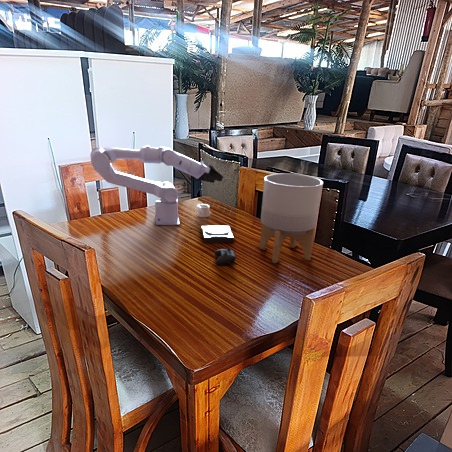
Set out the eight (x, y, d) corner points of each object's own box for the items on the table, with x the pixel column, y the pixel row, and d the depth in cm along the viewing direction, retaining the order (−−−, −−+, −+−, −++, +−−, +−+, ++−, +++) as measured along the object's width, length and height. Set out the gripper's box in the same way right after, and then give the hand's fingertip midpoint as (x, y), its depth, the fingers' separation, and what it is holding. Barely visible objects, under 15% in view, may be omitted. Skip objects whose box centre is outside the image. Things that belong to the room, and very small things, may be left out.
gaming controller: (213, 252, 138) (225, 240, 136) (223, 262, 140) (236, 251, 138) (214, 263, 129) (228, 251, 128) (225, 274, 132) (239, 262, 130)
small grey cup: (198, 217, 174) (198, 207, 171) (197, 213, 178) (197, 203, 176) (209, 217, 174) (210, 207, 172) (208, 213, 179) (208, 204, 177)
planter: (300, 269, 131) (312, 190, 118) (248, 256, 138) (254, 180, 126) (317, 251, 145) (330, 179, 133) (270, 240, 153) (278, 170, 140)
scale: (204, 242, 148) (204, 236, 147) (201, 230, 159) (201, 224, 158) (233, 242, 149) (233, 236, 148) (228, 230, 161) (228, 224, 159)
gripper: (198, 153, 151) (228, 168, 157) (185, 158, 164) (214, 172, 170) (192, 171, 151) (223, 185, 157) (180, 175, 164) (209, 187, 170)
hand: (218, 179), depth 164 cm, fingers open, 7 cm apart
